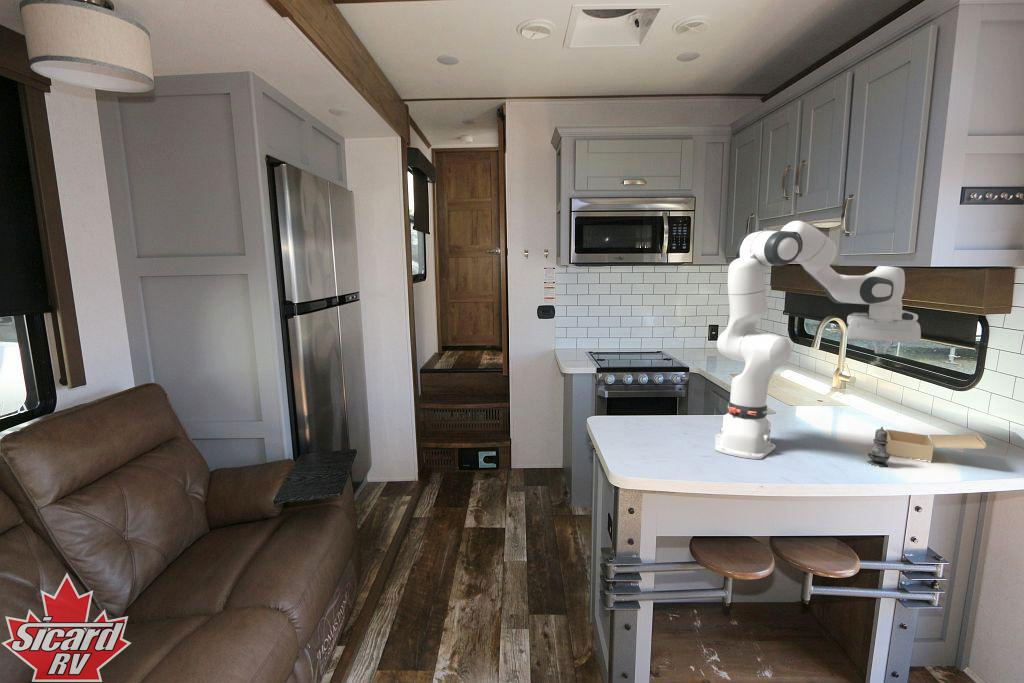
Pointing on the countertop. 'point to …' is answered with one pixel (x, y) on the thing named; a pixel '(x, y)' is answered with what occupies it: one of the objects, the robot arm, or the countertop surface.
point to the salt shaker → (879, 449)
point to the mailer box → (909, 445)
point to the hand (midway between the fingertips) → (880, 353)
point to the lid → (958, 441)
